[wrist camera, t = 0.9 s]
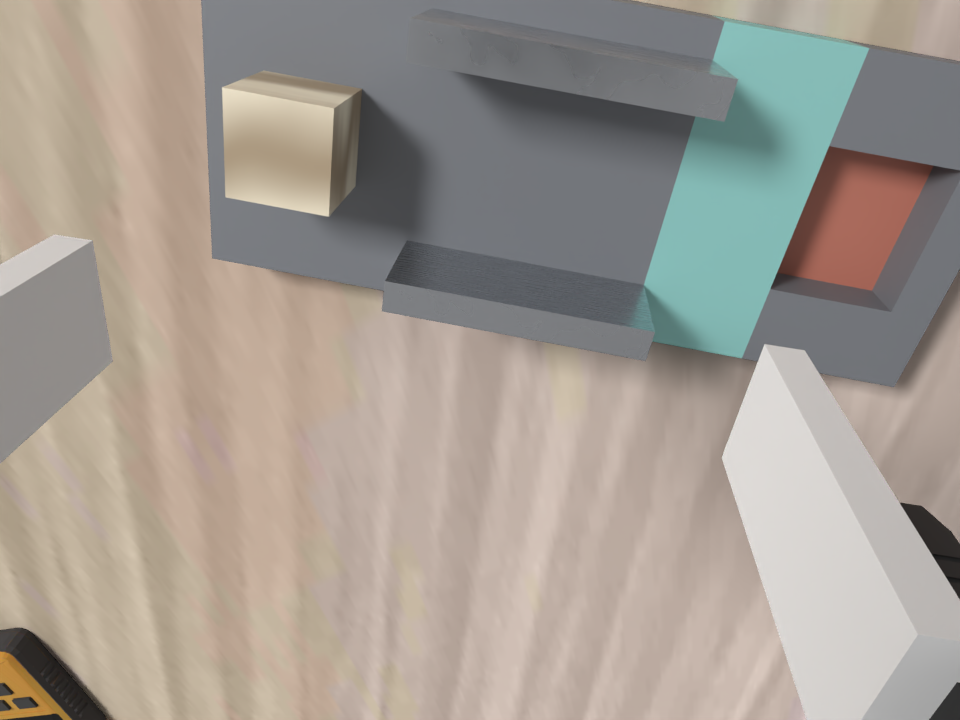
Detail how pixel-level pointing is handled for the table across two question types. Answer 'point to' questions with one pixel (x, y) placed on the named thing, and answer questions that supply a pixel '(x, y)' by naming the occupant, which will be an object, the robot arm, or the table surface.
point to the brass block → (290, 141)
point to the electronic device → (38, 683)
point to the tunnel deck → (614, 174)
